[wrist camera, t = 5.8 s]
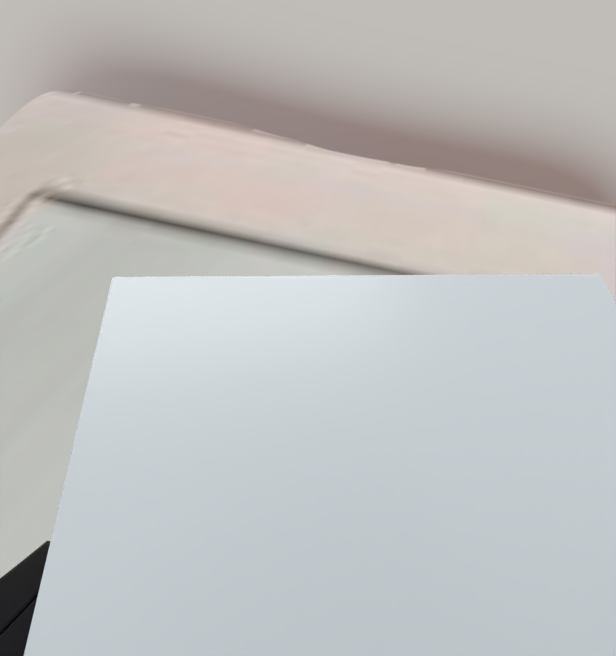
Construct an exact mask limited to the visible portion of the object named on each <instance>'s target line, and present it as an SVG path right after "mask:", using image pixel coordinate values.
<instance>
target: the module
mask: <svg viewBox="0 0 616 656" xmlns="http://www.w3.org/2000/svg"><path fill="white" fill-rule="evenodd" d="M24 656H616V302H615V300H614V298H613V296H612V294H611V292H610V291H609V289H608V287H607V285H606V283H605V281H604V279H603V277H602V275H601V274H497V275H354V276H211V277H113V278H112V282H111V287H110V291H109V295H108V299H107V304H106V308H105V312H104V316H103V321H102V325H101V329H100V333H99V338H98V342H97V346H96V350H95V355H94V359H93V363H92V367H91V372H90V376H89V380H88V384H87V389H86V393H85V397H84V401H83V406H82V410H81V414H80V418H79V423H78V427H77V431H76V435H75V440H74V444H73V448H72V452H71V457H70V461H69V465H68V469H67V474H66V478H65V482H64V486H63V491H62V495H61V499H60V503H59V508H58V512H57V516H56V520H55V525H54V529H53V533H52V537H51V542H50V546H49V550H48V554H47V559H46V563H45V567H44V571H43V576H42V580H41V584H40V588H39V593H38V597H37V601H36V605H35V610H34V614H33V618H32V622H31V627H30V631H29V635H28V639H27V644H26V648H25V652H24Z"/></svg>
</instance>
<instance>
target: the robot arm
mask: <svg viewBox="0 0 616 656" xmlns="http://www.w3.org/2000/svg"><path fill="white" fill-rule="evenodd" d="M49 546H50V541H46V542H45V543H44V544H43V545H41V546H40V547H39V548H38V549H36V550H35V551H34V552H33V553H32V554H30V555H29V556H28V557H27V558H25V559H24V560H23V561H22V562H20V563H19V564H18V565H17V566H15V567H14V568H13V569H11V570H10V571H9V572H8V573H6V574H5V575H4V576H3V577H1V578H0V656H24V652H25V648H26V644H27V639H28V635H29V631H30V627H31V622H32V618H33V614H34V610H35V605H36V601H37V597H38V593H39V588H40V584H41V580H42V576H43V571H44V567H45V563H46V559H47V554H48V550H49Z"/></svg>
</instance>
